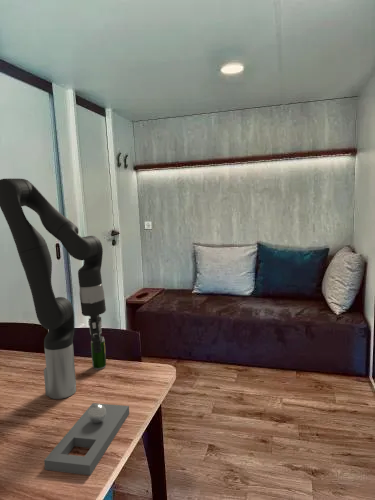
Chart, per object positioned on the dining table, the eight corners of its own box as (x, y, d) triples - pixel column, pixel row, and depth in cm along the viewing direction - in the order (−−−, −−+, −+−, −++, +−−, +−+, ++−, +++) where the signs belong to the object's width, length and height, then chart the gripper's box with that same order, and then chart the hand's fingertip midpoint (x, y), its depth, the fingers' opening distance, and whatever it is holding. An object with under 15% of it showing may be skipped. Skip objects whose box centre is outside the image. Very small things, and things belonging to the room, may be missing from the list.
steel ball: (85, 425, 100) (84, 409, 100) (93, 415, 105) (92, 399, 104) (102, 427, 99) (101, 410, 99) (109, 417, 104) (108, 400, 103)
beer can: (95, 371, 140) (93, 341, 139) (90, 366, 145) (88, 337, 143) (108, 367, 143) (106, 338, 142) (103, 362, 148) (101, 335, 146)
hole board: (44, 469, 87) (44, 460, 87) (93, 410, 112) (92, 403, 112) (90, 475, 85) (89, 465, 84) (129, 413, 110) (128, 405, 110)
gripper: (81, 295, 120) (87, 341, 122) (78, 306, 106) (85, 358, 108) (104, 292, 121) (109, 338, 123) (104, 302, 108) (110, 353, 110)
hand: (98, 347), depth 116 cm, fingers open, 8 cm apart
